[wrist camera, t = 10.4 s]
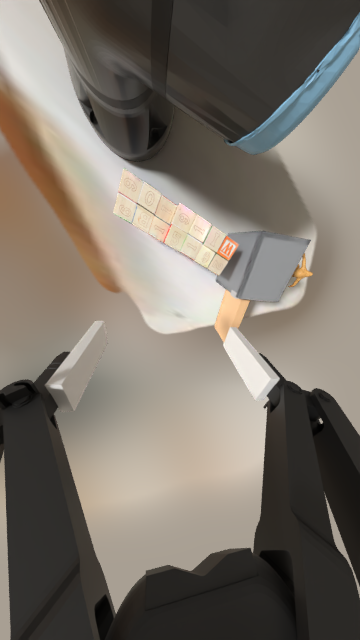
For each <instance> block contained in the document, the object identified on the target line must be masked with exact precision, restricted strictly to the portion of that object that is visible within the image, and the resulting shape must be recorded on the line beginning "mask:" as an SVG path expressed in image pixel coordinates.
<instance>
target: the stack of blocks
mask: <svg viewBox="0 0 360 640" xmlns="http://www.w3.org/2000/svg"><path fill="white" fill-rule="evenodd" d="M113 213H114V214H115V215H117V216H119V217H120V218H122V219H124V220H126V221H127V222H129V223H131V224H132V225H134V226H136V227H137V228H139V229H141V230H142V231H144V232H146V233H148V234H149V235H151V236H153V237H154V238H156V239H158V240H160V241H162V242H163V243H164V244H166V245H168V246H170V247H172V248H173V249H175V250H177V251H179V252H181V253H183V254H185V255H186V256H188V257H189V258H190V259H192V260H194V261H195V262H197V263H199V264H200V265H202V266H203V267H205V268H207V269H209V270H210V271H212V272H214V273H215V274H217V275H220V274H221V272H222V271H223V269H224V268H225V266H226V265H227V263H228V261H229V260H230V258H231V257H232V255H233V254H234V252H235V251H236V249H237V247H238V246H239V244H238V243H236V242H235V241H233V240H232V239H231V238H229V237H228V236H226V234H224V233H223V232H222V231H220V230H219V229H217V228H216V227H214V226H212V224H211V223H210V222H208V221H207V220H205V219H204V218H202V217H201V216H199V215H198V214H196V213H195V212H193V211H192V210H190V209H189V208H187V207H186V206H185V205H183V204H182V203H179V204H178V206H177V205H176V204H174V203H173V202H171V201H170V200H169V199H167V198H166V197H164V196H163V195H162V194H161V193H160V192H159V191H157V190H156V189H155V188H153V187H152V186H150V185H149V184H148V183H146V182H145V181H144V182H143V181H142V180H140V179H139V178H138V177H136V176H135V175H133V174H132V173H131V172H129V171H128V170H126V169H125V168H124V169H123V173H122V177H121V181H120V185H119V189H118V195H117V199H116V203H115V208H114V212H113Z"/></svg>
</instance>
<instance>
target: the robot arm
mask: <svg viewBox="0 0 360 640" xmlns="http://www.w3.org/2000/svg"><path fill="white" fill-rule="evenodd" d="M39 1H40V3H41V5H42V6H43V8H44V10H45V12H46V14H47V16H48V18H49V20H50V22H51V24H52V26H53V28H54V29H55V31H56V33H57V35H58V37H59V39H60V41H61V43H62V45H63V47H64V51H65V55H66V59H67V64H68V68H69V73H70V76H71V80H72V83H73V87H74V90H75V92H76V95H77V98H78V100H79V103H80V105H81V107H82V109H83V111H84V113H85V115H86V117H87V119H88V120H89V122H90V124H91V125H92V127H93V128H94V130H95V132H96V133H97V135H98V136H99V137H100V139H101V140H102V141H103V142H104V143H105V145H106V146H107V147H108V148H110V149H111V150H112V151H113V152H114V153H116V154H117V155H119V156H120V157H122V158H125V159H127V160H131V161H143V160H147V159H149V158H151V157H153V156H154V155H155V154H156V153H157V152H158V151H159V150H160V149H161V148H162V146H163V145H164V143H165V141H166V140H167V137H168V135H169V132H170V129H171V126H172V121H173V115H174V107H175V106H176V107H178V108H179V109H181V110H182V111H184V112H185V113H186V114H188V115H189V116H191V117H192V118H194V119H195V120H197V121H198V122H200V123H201V124H203V125H204V126H206V127H207V128H209V129H210V130H212V131H213V132H214V133H216V134H217V135H219V136H220V137H222V138H223V139H224V142H225V143H226V144H228V145H230V146H236V147H238V148H240V149H242V150H243V151H245V152H247V153H249V154H253V155H255V154H258V153H262V152H266V151H268V150H270V149H271V148H273V147H274V146H276V145H277V144H278V143H279V142H281V141H282V140H283V139H284V138H285V137H287V136H288V135H289V134H290V133H291V132H292V131H293V130H294V129H295V128H296V127H297V126H298V125H299V124H300V123H301V122H302V121H303V120H304V119H305V118H306V116H307V115H308V114H309V113H310V112H311V111H312V110H313V109H314V108H315V106H316V105H317V104H318V103H319V102H320V101H321V99H322V98H323V97H324V96H325V94H326V93H327V92H328V91H329V90H330V88H331V87H332V86H333V85H334V83H335V82H336V81H337V80H338V78H339V77H340V76H341V74H342V73H343V72H344V70H345V69H346V68H347V66H348V65H349V63H350V62H351V61H352V59H353V58H354V56H355V55H356V54H357V52H358V50H359V47H360V0H39ZM107 344H108V340H107V334H106V329H105V323H104V321H95V322H94V323H93V325H92V326H91V327H90V328H89V330H88V331H87V332H86V333H85V335H84V336H83V337H82V339H81V340H80V341H79V342H78V344H77V345H76V346H75V347H74V349H73V350H72V351H71V352H63V353H62V354H60V355H58V356H57V357H56V358H55V359H54V360H53V361H52V363H51V364H50V365H49V366H48V367H47V369H45V371H44V372H43V373H42V374H41V375H40V376H39V377H38V379H37V380H36V381H35V382H34V383H33V382H32V381H31V380H20V381H17V382H14V383H12V384H10V385H8V386H6V387H4V388H3V389H2V390H0V461H1V458H2V455H3V451H4V458H5V487H6V513H7V514H6V515H7V542H8V568H9V569H8V570H9V595H10V596H9V597H10V624H11V640H360V598H359V594H358V590H357V585H356V582H355V578H354V575H353V572H352V569H351V567H350V566H349V564H348V562H347V560H346V558H345V557H344V556H343V555H342V554H341V553H340V552H339V550H338V549H337V547H336V545H335V542H334V539H333V534H332V529H331V524H330V519H329V514H328V509H327V504H326V499H325V495H326V498H327V500H328V503H329V506H330V508H331V511H332V513H333V516H334V519H335V522H336V524H337V527H338V530H339V532H340V535H341V537H342V540H343V543H344V546H345V548H346V551H347V554H348V556H349V559H350V561H351V564H352V567H353V570H354V572H355V574H356V578H357V580H358V583H359V586H360V436H359V434H358V433H357V431H356V430H355V429H354V427H353V426H352V424H351V422H350V421H349V420H348V418H347V417H346V415H345V414H344V412H343V411H342V410H341V408H340V406H339V405H338V403H337V402H336V400H335V399H334V398H333V397H332V396H331V395H330V394H328V393H327V392H325V391H323V390H321V389H317V388H316V389H314V390H312V392H309V391H305V390H302V389H301V388H300V387H299V386H298V385H296V384H295V383H293V382H290V381H286V380H285V378H284V377H283V376H282V375H281V374H280V373H279V372H278V370H276V368H275V367H273V365H272V364H271V363H270V362H269V361H268V359H267V358H266V357H265V356H263V355H262V354H261V353H258V352H257V351H256V350H255V349H254V347H253V346H252V345H251V344H250V343H249V342H248V340H247V339H246V338H245V337H244V336H243V334H242V333H241V332H240V331H239V330H238V329H237V327H230V329H229V331H228V334H227V336H226V339H225V342H224V344H223V346H224V348H225V350H226V352H227V353H228V355H229V357H230V358H231V360H232V362H233V364H234V365H235V367H236V369H237V370H238V372H239V374H240V376H241V377H242V379H243V381H244V383H245V384H246V386H247V388H248V389H249V391H250V393H251V395H252V396H253V398H254V400H255V401H257V400H264V399H265V397H266V396H267V397H268V398H269V401H268V402H267V403H266V404H265V406H264V408H266V407H267V422H266V438H265V454H264V455H265V457H264V471H263V472H264V473H263V487H262V504H261V516H260V521H259V523H258V526H257V528H256V532H255V538H254V551H253V553H252V552H251V548H240V549H228V550H223V551H220V552H216V553H212V554H210V555H209V556H208V557H207V558H206V559H205V560H203V561H202V562H201V563H200V564H199V565H198V566H197V567H196V568H195V569H194V570H192V571H188V570H184V569H181V568H177V567H173V566H170V565H166V566H162V567H159V568H155V569H151V570H147V571H146V574H145V575H144V576H143V577H142V578H141V579H139V581H138V582H137V583H136V584H135V585H134V586H133V587H132V589H131V590H130V591H129V593H128V594H127V596H126V597H125V599H124V601H123V602H122V604H121V606H120V608H119V610H118V612H117V614H116V613H115V610H114V606H113V604H112V600H111V596H110V593H109V590H108V586H107V583H106V580H105V577H104V574H103V571H102V568H101V565H100V563H99V561H98V559H97V557H96V554H95V551H94V548H93V544H92V541H91V538H90V534H89V531H88V527H87V524H86V520H85V517H84V513H83V510H82V507H81V503H80V500H79V496H78V493H77V489H76V486H75V483H74V480H73V476H72V472H71V469H70V466H69V462H68V459H67V455H66V452H65V448H64V445H63V442H62V438H61V435H60V432H59V428H58V424H57V421H56V418H55V415H54V412H55V411H56V409H57V408H59V410H60V412H68V411H69V412H70V411H75V409H76V406H77V405H78V403H79V401H80V399H81V397H82V394H83V393H84V390H85V388H86V386H87V384H88V382H89V380H90V378H91V376H92V374H93V372H94V370H95V368H96V366H97V364H98V362H99V360H100V358H101V356H102V354H103V352H104V350H105V348H106V346H107ZM320 418H321V419H322V421H323V423H322V424H321V423H320V422H319V419H320ZM324 492H325V494H324Z"/></svg>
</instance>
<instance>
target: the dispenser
mask: <svg viewBox="0 0 360 640" xmlns="http://www.w3.org/2000/svg"><path fill="white" fill-rule="evenodd" d="M228 237H229V238H231V239H232V240H233V241H235V242H236V243H238V244H239V246H238V247H237V249H236V251H235V252H234V254H233V255H232V257H231V258H230V260H229V261H228V263H227V265H226V266H225V268H224V269H223V271H222V272H221V274H220V275H217V278H216V282H217V283H219V284H220V285H221V286H222V287H224V288H225V289H226V290H228V291H229V292H230V293H231V294H230V295H231V296H233V297H234V298H235V299H247V300H258V301H270V302H275V301H276V302H278V301H279V299H280V297H281V295H282V293H283V291H284V290H285V288H286V286H287V284H288V282H289V280H290V278H291V277H292V275H293V273H294V271H295V269H296V267H297V265H298V263H299V262H300V260H301V258H302V256H303V254H304V252H305V250H306V248H307V247H308V245H309V243H310V241H311V240H308V239H303V238H298V237H292V236H287V235H282V234H276V233H271V232H266V231H252V232H238V233H228Z"/></svg>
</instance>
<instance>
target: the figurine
mask: <svg viewBox="0 0 360 640" xmlns="http://www.w3.org/2000/svg"><path fill="white" fill-rule="evenodd" d="M302 258H303V260H302V267H301V268H299V264H298V265H297V267H296V269H295V271H294V273H293V275H292V277H296V278H297V279H296V281H295V282H294V283H293V285H290V286H288V287H293V286H295V285H296V284H297V283H298V282H299V281H300V280H301V279H302V278H304V277H309V276H312V273H311V272H309V271H307V269H306V265H305V264H306V258H305V253H304V254H303V256H302Z"/></svg>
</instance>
